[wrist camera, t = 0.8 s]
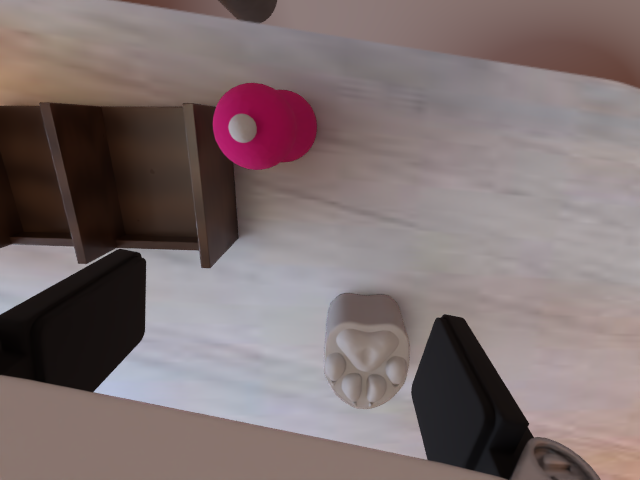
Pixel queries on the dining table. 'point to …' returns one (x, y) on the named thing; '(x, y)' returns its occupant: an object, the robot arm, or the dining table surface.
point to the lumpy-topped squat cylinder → (365, 349)
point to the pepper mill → (263, 126)
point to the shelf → (115, 179)
